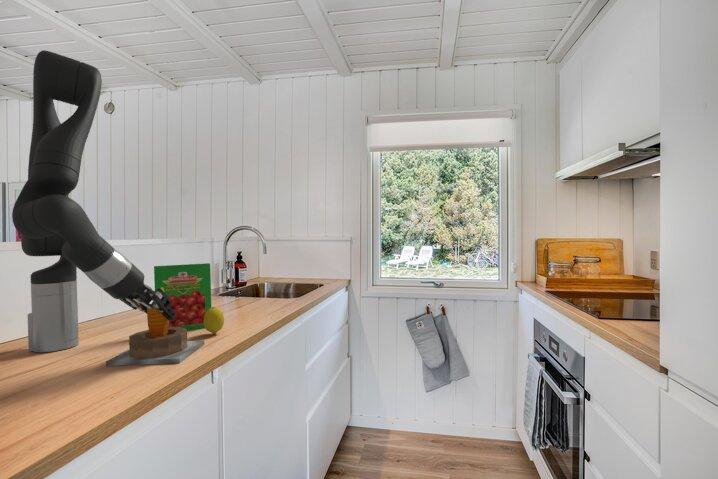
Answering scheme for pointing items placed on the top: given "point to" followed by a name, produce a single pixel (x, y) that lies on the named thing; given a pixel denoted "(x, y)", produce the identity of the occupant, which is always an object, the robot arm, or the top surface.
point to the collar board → (157, 348)
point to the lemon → (213, 320)
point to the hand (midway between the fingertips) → (165, 316)
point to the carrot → (157, 322)
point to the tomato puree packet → (186, 292)
